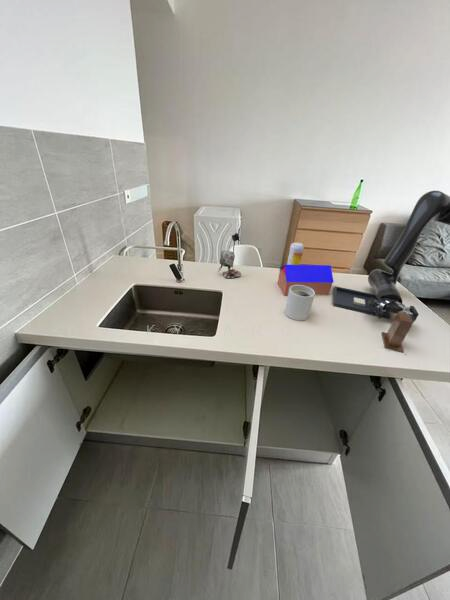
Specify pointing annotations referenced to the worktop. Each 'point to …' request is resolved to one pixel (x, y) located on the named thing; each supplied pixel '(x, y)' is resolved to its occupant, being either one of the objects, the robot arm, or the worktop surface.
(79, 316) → the worktop surface
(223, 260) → the bird figurine
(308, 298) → the mug
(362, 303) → the paper scrap
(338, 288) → the tray
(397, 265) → the robot arm
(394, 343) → the brown post on base
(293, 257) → the white capped yellow bottle
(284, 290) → the blue-topped block
